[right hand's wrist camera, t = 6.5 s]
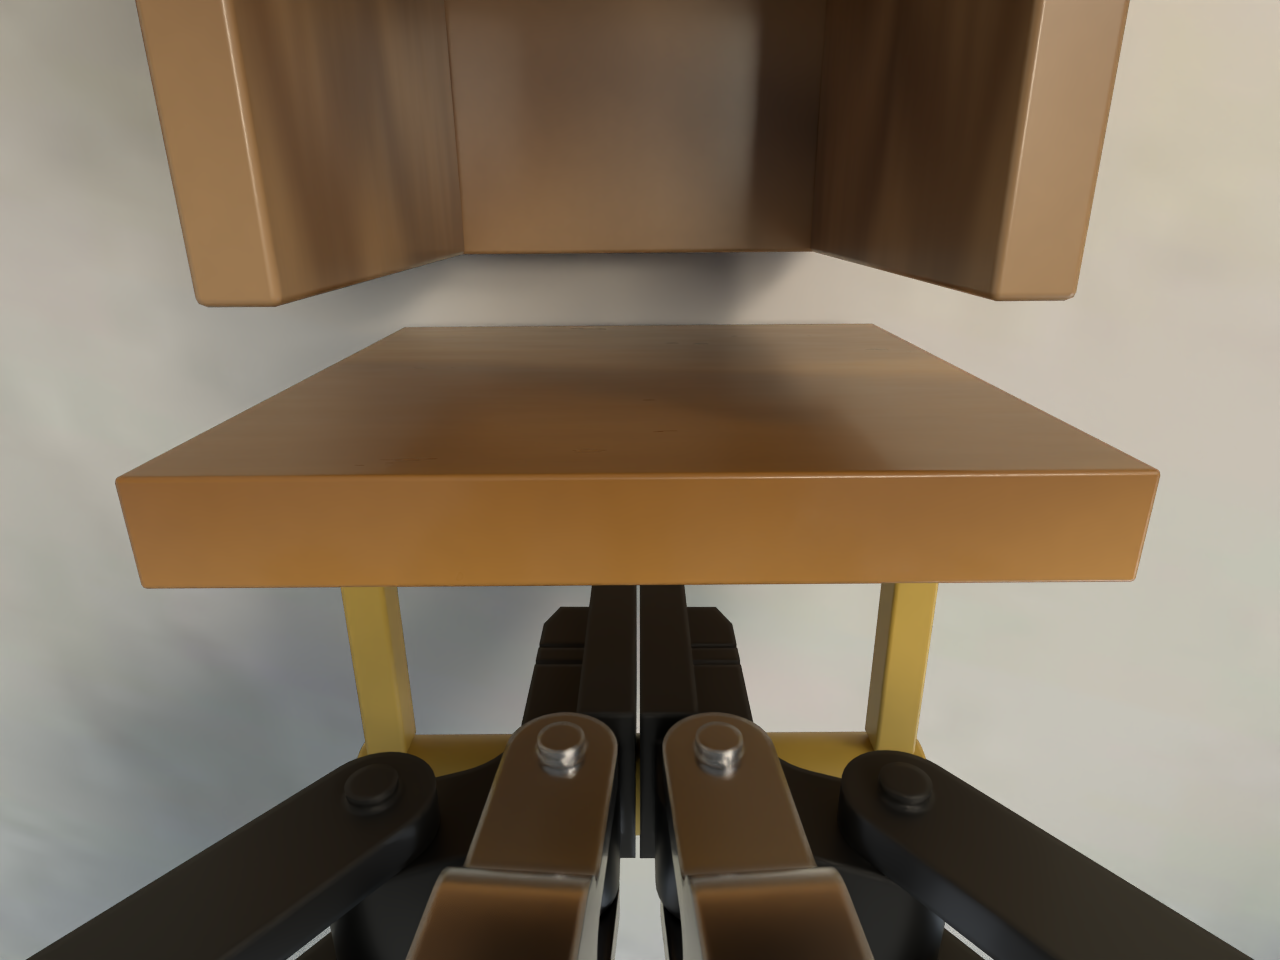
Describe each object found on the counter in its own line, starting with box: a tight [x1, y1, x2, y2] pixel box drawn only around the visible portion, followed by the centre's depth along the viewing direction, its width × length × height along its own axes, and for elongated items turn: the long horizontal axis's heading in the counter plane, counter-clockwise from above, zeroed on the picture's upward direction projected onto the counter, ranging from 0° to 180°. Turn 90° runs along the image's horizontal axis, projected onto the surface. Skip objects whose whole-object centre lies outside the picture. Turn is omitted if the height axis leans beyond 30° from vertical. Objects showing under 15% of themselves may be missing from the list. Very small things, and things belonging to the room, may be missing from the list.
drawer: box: [115, 0, 1160, 835], centre depth 10 cm, size 22×10×9 cm, turn 0°
